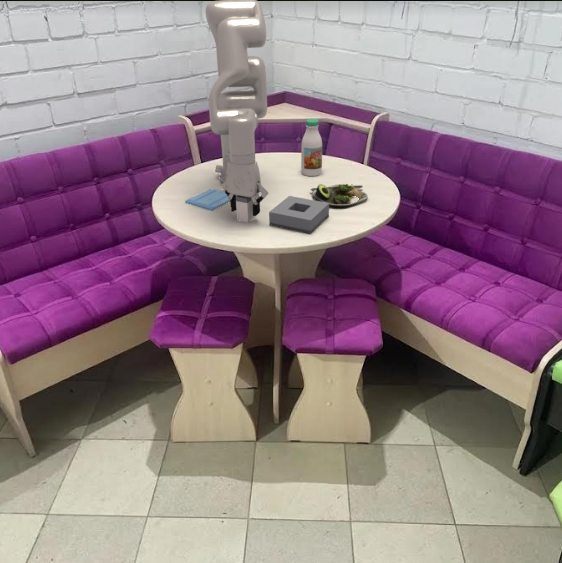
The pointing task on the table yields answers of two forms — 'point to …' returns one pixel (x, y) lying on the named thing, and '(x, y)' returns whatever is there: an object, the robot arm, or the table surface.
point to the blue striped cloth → (209, 199)
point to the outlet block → (299, 214)
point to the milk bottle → (311, 149)
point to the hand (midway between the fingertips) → (245, 212)
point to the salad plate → (338, 195)
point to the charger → (244, 208)
